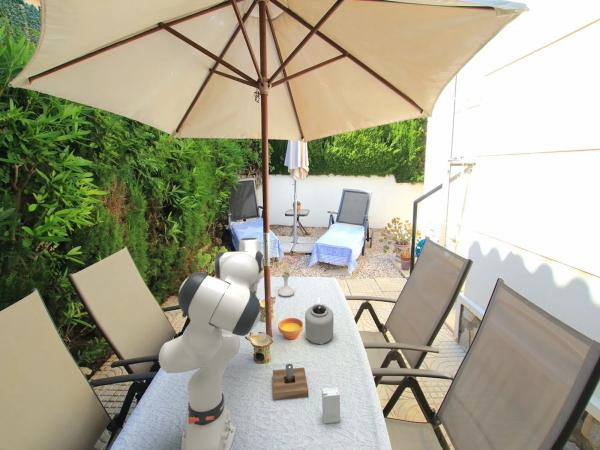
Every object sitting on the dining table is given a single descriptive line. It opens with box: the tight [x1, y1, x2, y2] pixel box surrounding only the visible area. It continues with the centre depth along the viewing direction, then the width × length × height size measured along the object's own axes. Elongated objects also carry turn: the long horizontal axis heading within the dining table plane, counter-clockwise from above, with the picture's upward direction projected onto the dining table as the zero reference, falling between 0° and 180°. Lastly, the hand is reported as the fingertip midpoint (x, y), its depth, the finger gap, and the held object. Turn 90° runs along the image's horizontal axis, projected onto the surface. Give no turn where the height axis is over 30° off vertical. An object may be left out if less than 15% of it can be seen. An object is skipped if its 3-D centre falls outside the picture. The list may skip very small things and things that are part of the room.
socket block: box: [272, 367, 309, 401], centre depth 137 cm, size 14×14×4 cm
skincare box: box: [321, 386, 341, 424], centre depth 119 cm, size 6×4×12 cm
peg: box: [285, 363, 294, 384], centre depth 136 cm, size 3×3×10 cm
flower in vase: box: [277, 261, 295, 297], centre depth 223 cm, size 13×11×25 cm
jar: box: [304, 297, 335, 349], centre depth 168 cm, size 19×15×25 cm
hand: (252, 305), depth 138 cm, fingers open, 8 cm apart
